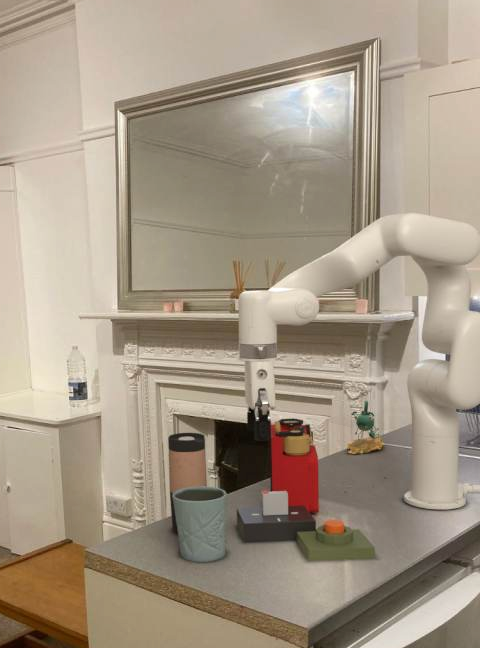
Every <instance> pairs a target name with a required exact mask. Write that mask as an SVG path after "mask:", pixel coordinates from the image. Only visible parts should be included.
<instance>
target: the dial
mask: <svg viewBox="0 0 480 648" xmlns="http://www.w3.org/2000/svg"><path fill="white" fill-rule="evenodd" d="M260 494H261V507H262V514H263V516H265V515H288V493H287V491H272V492H270V491H268V490H262V491H261V493H260Z"/></svg>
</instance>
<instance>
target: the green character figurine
mask: <svg viewBox="0 0 480 648" xmlns="http://www.w3.org/2000/svg"><path fill="white" fill-rule="evenodd" d="M368 409H369V401H368V400H365V401H364V406H363V410H361V412H360V414H358V411H356V410H355V411H353V412H352V413H351V416H353V418H354V420H355V421H356V422H355V424H356V427H357V429H356V431H355V432H354V434H355V435H357V439H354V440H352V441H350V442H348V443H347V447H346V448H347V449H350V450H348V452H347V453H348V454H351V455H356V454H357V455H358V454H362V455H363V454H367V453H369V452H372V451H378V450H381V449H382V448H383V446H384V445H385V442H384V440H383V439H381V437H380V434H379V433H377V431H379V430H380V429H379V428H376V426H375V419H374V417H375V414H374V412H371V411H368ZM373 429H374V430H373ZM358 431H360V432H359V433H358ZM364 432H367V433H368V436H367V437H366V438H365V437H363V436H364ZM376 433H377V434H376ZM360 434H361V437H360Z"/></svg>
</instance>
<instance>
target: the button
mask: <svg viewBox="0 0 480 648" xmlns="http://www.w3.org/2000/svg"><path fill="white" fill-rule="evenodd" d="M323 525H324V532H327V533H331V534H341V533H344V526H345V522H344V521H342V520H336V519H331V520H330V519H329V520H326V521H324V523H323Z"/></svg>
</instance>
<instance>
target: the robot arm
mask: <svg viewBox="0 0 480 648" xmlns="http://www.w3.org/2000/svg"><path fill="white" fill-rule="evenodd" d="M479 255H480V232H479V231H478V230H477V228H476V227H474V225H471V224H469V223H466V222H463V221H459V220H455V219H448V218H443V217H440V216H439V217H438V216H434V215H428V214H425V213H420V212H419V213H418V212H403V213H395V214H388V215H384V216H382V217H379V218H378V219H375V220H374V221H373V222H372V223H370V224H369V225H367V226H366V227H364V228H363V229H361V230H360V231H359V232H357V233H356V234H355V235H353V236H351V238H349V239H347V240H346V241H344V242H343V243H342V244H341V245H340V246H338V247H336V248H335V249H334V250H332V251H330V252H328V253H325V254H324V255H322V256H320V257H318V258H317V259H315V260H313V261H311V262H309V263H307V264H305V265H303V266H302V267H300V268H298V269H296V270H294V271H292V272H291V273H289V274H288V275H286V276H285V277H283V278H282V279H280V280H279V281H278V282H276V283H275V284H274V285H272V286H271V287H270V288H269V289H266V290H265V289H264V290H247V291H243V292H241V293H240V294H239V296H238V303H237V304H238V305H237V306H238V307H237V309H238V357H239V358H238V359H239V361H242V362H244V397H245V403H246V405H247V411H246V419H247V420H246V422H247V423H246V424H247V425H246V426H247V428H246V429H247V431H248V432H253V437H254V438H253V439H254V441H255V442H269V441H270V440H271V424H272V420H271V412H270V409H271V410H272V411H273V410H275V409H276V407H277V405H276V403H277V401H276V385H275V384H276V382H275V380H276V379H275V368H274V361H276V360H278V326H279V325H282V326H294V327H299V326H305V325H307V324H309V323H311V322H313V321H314V320H315V319H316V318H317V316H318V314H319V312H320V301H319V299H318V298H319V297H322V296H324V295H327V294H330V293H334V292H340V291H343V290H346V289H349V288H352V287H354V286H356V285H359V284H360V283H362V282H363V281H364V280H366V279H367V278H368V277H370V276H371V275H372V274H374V273H375V272H377V271H378V270H380V269H381V268H382V267H383V266H385V265H386V264H388V263H389V262H391V261H392V260H393V259H395V258H396V257H397V258H398V257H410V258H412V260H413V261H414V262H415V263H416V264H417V265H418V266H419V268H420V269H421V271H422V272H423V274H424V276H425V278H426V279H425V280H426V283H427V294H426V295H427V296H426V303H425V310H424V316H423V320H422V321H423V322H422V328H421V329H422V330H421V342H422V344H423V346H424V347H425V348H426V349H427V350H429V351H430V352H433V353H438V354H442V355H449V360H444V359H437V358H428V359H423V360H421V361H418V362H417V363H416V364H414V365H413V366H412V368H410V370H409V373H408V375H407V379H406V380H407V382H406V384H407V385H406V386H407V387H406V388H407V393H408V398H409V402H410V403H409V404H410V411H411V490H409V491H407V492H405V493H404V495H403V500H404V502H405V503H407V504H408V505H409V506H413V507H416V508H421V509H426V510H435V511H436V510H440V511H441V510H443V511H445V510H447V511H448V510H455V509H460V508H462V507H464V506H466V504H467V497H466V496H467V494H472V495H474V494H480V484H471V483H470V482H461V481H459V464H460V463H459V459H460V456H459V455H460V420H459V415H458V412H457V410H461V411H467V410H472V409H475V408H476V407H478V406H479V405H480V312H479V311H476V310H470V305H471V304H470V303H471V296H472V295H471V293H472V282H471V278H470V274H469V272H468V269H467V267H466V266H465V265H468V264H470V263H472V262H474V260H475V259H476V258H477V257H478V256H479Z"/></svg>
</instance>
